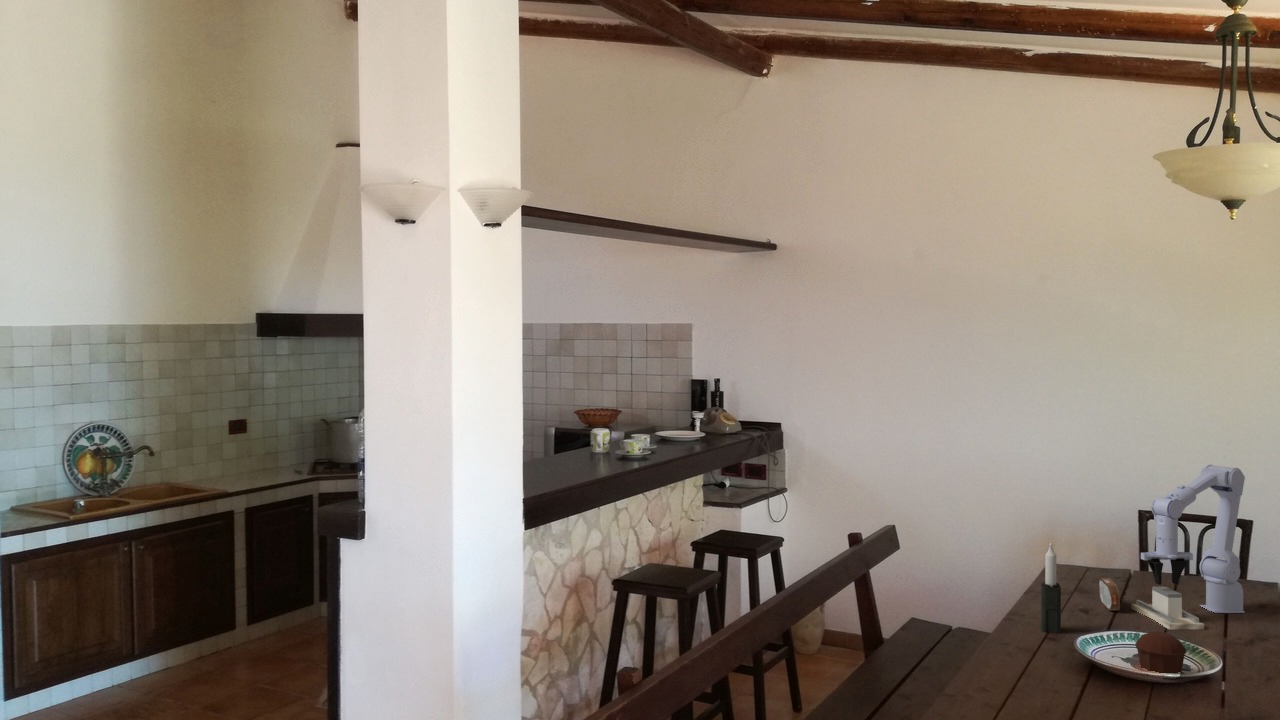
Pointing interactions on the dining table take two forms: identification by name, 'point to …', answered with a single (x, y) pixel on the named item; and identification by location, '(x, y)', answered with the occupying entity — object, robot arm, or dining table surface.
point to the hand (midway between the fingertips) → (1166, 583)
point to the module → (1167, 601)
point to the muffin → (1160, 652)
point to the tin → (1109, 594)
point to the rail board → (1168, 617)
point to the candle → (1050, 596)
